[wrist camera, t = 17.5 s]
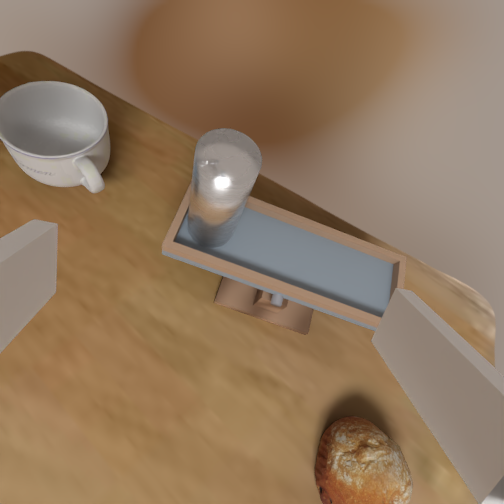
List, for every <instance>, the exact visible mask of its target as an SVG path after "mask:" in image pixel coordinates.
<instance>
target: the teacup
mask: <svg viewBox="0 0 504 504" xmlns="http://www.w3.org/2000/svg"><path fill="white" fill-rule="evenodd" d="M0 139H1V140H2V141H3V143H4V145H5V146H6V148H7V149H8V151H9V153H10V154H11V156H12V157H13V159H14V160H15V161H16V163H17V164H18V165H19V167H20V168H21V169H22V170H23V171H24V172H25V173H27V174H28V175H29V176H30V177H32V178H34V179H35V180H37V181H39V182H41V183H44V184H47V185H51V186H57V187H73V186H78V185H83V186H85V187H86V188H87V189H88V190H89V191H90V192H92V193H98V192H100V191H102V190H103V189H104V187H105V184H104V181H103V178H102V176H101V173H102V172H103V170H104V169H105V168H106V166H107V164H108V161H109V158H110V137H109V130H108V117H107V113H106V110H105V108H104V106H103V105H102V103H101V102H100V101H99V100H98V99H97V98H96V97H95V96H94V95H92V94H91V93H90V92H88V91H86V90H84V89H83V88H80V87H78V86H75V85H72V84H69V83H64V82H57V81H39V82H28V83H27V84H23V85H20V86H18V87H14V88H13V89H11V90H10V91H8V92H6V93H5V94H4V95H3V96H2V97H1V98H0Z"/></svg>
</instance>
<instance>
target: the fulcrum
mask: <svg viewBox="0 0 504 504" xmlns="http://www.w3.org/2000/svg"><path fill="white" fill-rule="evenodd" d="M272 295H273V294H271V293H268V292H266V291H263V290H260V289H257V288H254V287H252V286H249V285H246V284H243V283H241V282H238V281H235V280H232V279H230V278H227V277H224V276H223V278H222V281H221V284H220V287H219V290H218V292H217V295H216V298H215V301H214V303H216V304H219V305H222V306H225V307H228V308H231V309H233V310H236V311H239V312H242V313H245V314H247V315H250V316H253V317H256V318H259V319H262V320H264V321H267V322H270V323H273V324H276V325H279V326H281V327H284V328H287V329H290V330H293V331H295V332H298V333H301V334H304V335H306V334H308V332H309V327H310V322H311V318H312V313H313V308H310V307H307V306H304V305H301V304H299V303H296V302H293V301H290V300H288V299H285V298H283V301H282V305H281V307H276V306H273V305H271V304H270V303H271V299H272Z"/></svg>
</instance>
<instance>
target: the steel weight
mask: <svg viewBox="0 0 504 504" xmlns="http://www.w3.org/2000/svg"><path fill="white" fill-rule="evenodd" d="M261 165H262V156H261V153H260V150H259V148H258V146H257V145H256V143H255V142H254V141H253V140H252V139H251V138H249V137H248V136H247V135H245V134H243V133H241V132H239V131H236V130H233V129H226V128H222V129H215V130H211V131H209V132H207V133H206V134H205V135H203V136H202V137H201V138H200V139H199V141H198V142H197V145H196V148H195V157H194V166H193V175H192V185H191V194H190V203H189V213H188V222H187V228H188V232H189V234H190V236H191V238H192V239H193V240H194V241H195V242H196V243H198V244H200V245H202V246H204V247H209V248H215V247H220V246H222V245H224V244H226V243H227V242H228V241H229V240H230V239H231V237H232V235H233V233H234V230H235V228H236V226H237V223H238V221H239V219H240V216H241V214H242V211H243V209H244V207H245V204H246V202H247V200H248V197H249V195H250V193H251V190H252V188H253V185H254V183H255V181H256V178H257V176H258V174H259V171H260V169H261Z"/></svg>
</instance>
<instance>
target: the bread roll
mask: <svg viewBox="0 0 504 504" xmlns="http://www.w3.org/2000/svg"><path fill="white" fill-rule="evenodd" d="M315 476H316V485H317V488H318V490H319V494H320V498H321V501H322V503H323V504H408V503H409V501H410V499H411V494H412V488H413V481H412V477H411V473H410V470H409V468H408V465H407V463H406V461H405V458H404V456H403V454H402V452H401V450H400V447H399V446H398V445H397V444H396V443H395V442H394V441H392V439H389V437H388V436H387V435H386V434H384V433H383V432H382V431H381V430H380V429H378V428H377V427H376V426H375V425H374V424H373V423H372V422H370V421H368V420H366V419H364V418H361V417H356V416H349V417H344V418H341V419H339V420H337V421H335V422H334V423H333V424H332V425H331V426H330V427H329V428H328V429H327V430H326V431H325V432H324V434H323V436H322V437H321V440H320V445H319V451H318V454H317V461H316V467H315Z"/></svg>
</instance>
